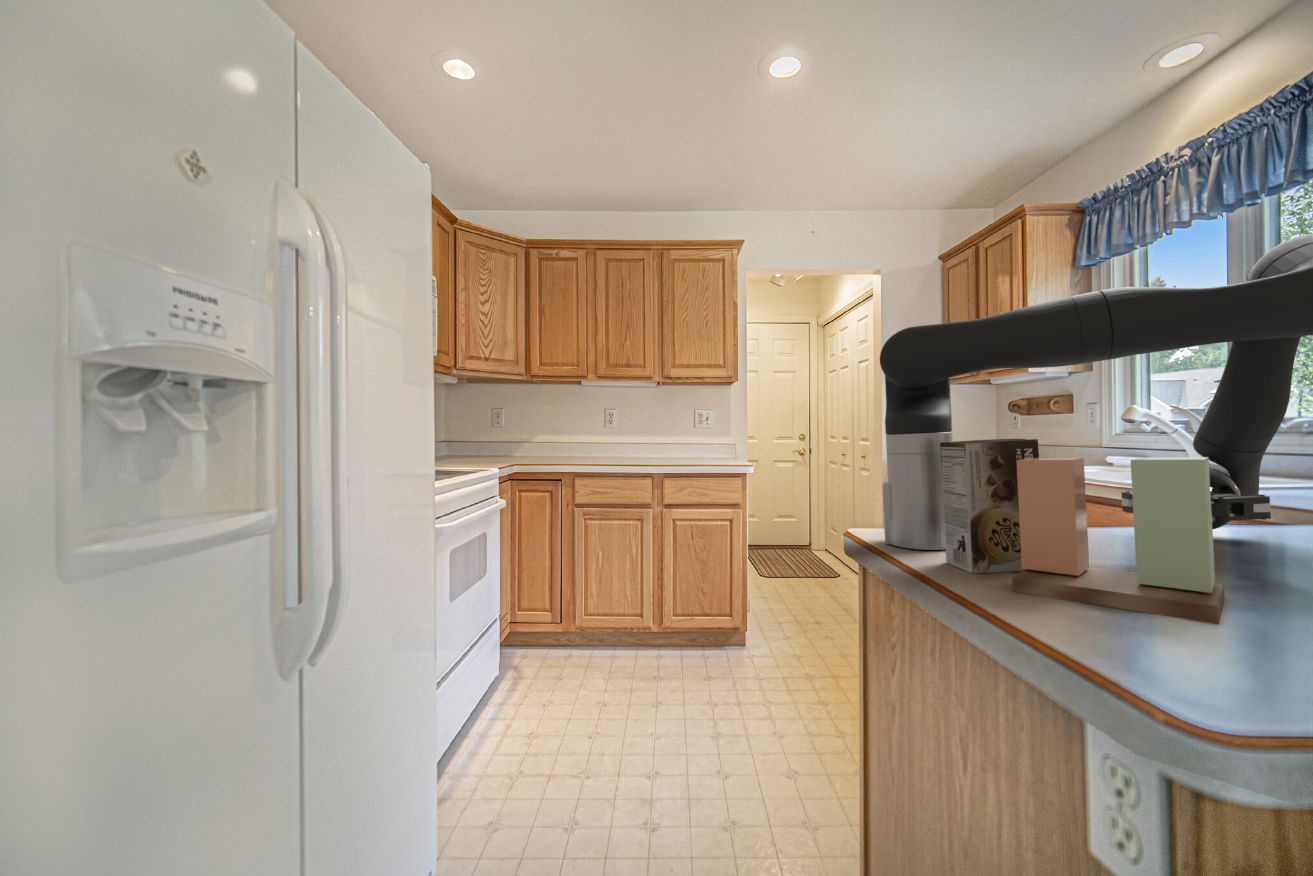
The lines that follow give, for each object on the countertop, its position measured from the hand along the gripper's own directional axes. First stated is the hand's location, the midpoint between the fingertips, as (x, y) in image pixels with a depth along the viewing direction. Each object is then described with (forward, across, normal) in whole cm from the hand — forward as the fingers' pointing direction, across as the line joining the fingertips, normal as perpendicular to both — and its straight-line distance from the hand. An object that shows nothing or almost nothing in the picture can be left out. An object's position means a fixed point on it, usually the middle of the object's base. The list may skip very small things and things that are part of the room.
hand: (1183, 512), depth 57 cm
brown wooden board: (+10, +5, -8) cm, 13 cm away
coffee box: (+4, +17, -8) cm, 19 cm away
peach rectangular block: (+9, +10, -6) cm, 14 cm away
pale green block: (+9, 0, -6) cm, 10 cm away
